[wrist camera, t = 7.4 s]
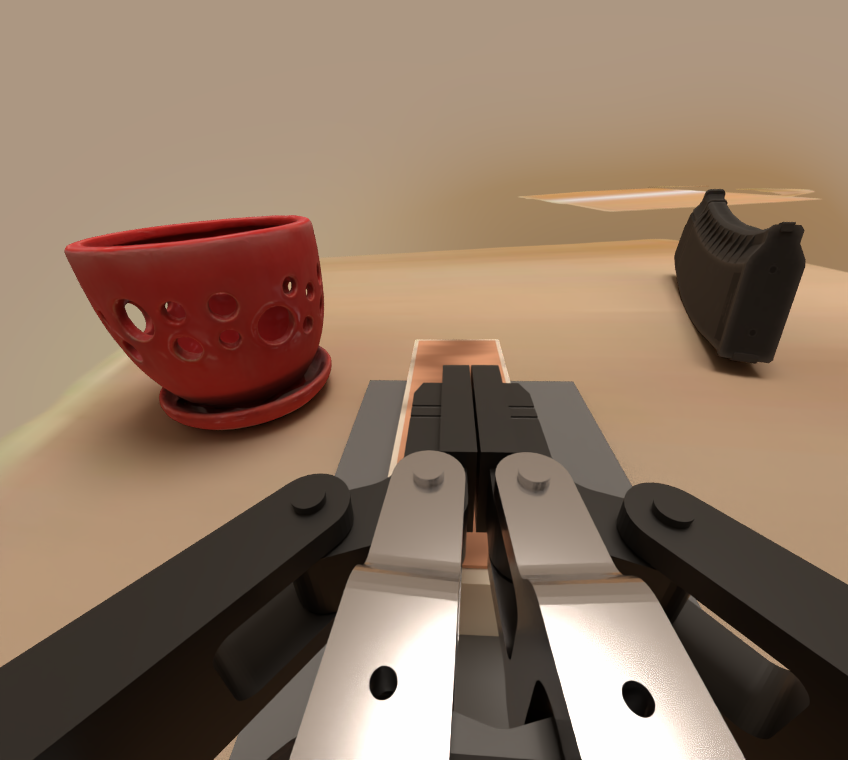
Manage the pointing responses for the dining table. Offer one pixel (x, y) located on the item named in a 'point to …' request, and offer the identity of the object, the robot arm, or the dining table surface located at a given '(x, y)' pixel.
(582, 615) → the robot arm
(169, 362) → the plant pot
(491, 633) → the slab
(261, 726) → the mat
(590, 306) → the dining table surface
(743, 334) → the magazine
